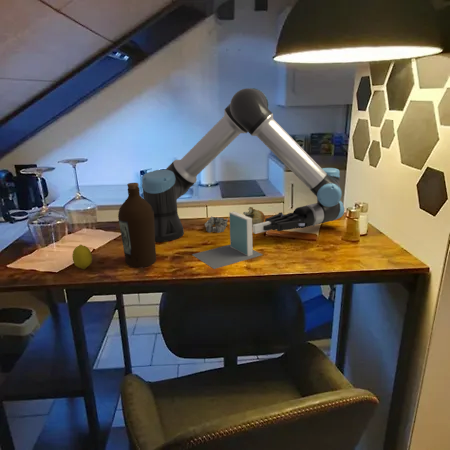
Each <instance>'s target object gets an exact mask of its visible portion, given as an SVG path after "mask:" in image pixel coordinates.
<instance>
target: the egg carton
mask: <svg viewBox="0 0 450 450" xmlns="http://www.w3.org/2000/svg"><path fill="white" fill-rule="evenodd" d="M228 221H229V218H224V217H217V216H216V217H215V216H210V218H209V219H208V220H207V221H206V222H204V226H205V232H206V231H207V233H209V234H212V233H217V234H218V233H219V234H220V233H224V232H225V230H226V228H227V227H228ZM226 226H227V227H226ZM211 232H212V233H211Z"/></svg>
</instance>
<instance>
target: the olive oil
mask: <svg viewBox="0 0 450 450" xmlns="http://www.w3.org/2000/svg"><path fill="white" fill-rule="evenodd" d="M127 194H128V197H127V198H126V199H125V201H123V203H122V204H121V205H120V208H119V209H118V213H117V215H118V216H117V217H118V224H119V230H120V234H121V240H122V241H121V243H122V245H123V247H122V248H123V253H124V259H125V264H126V265H127V266H128V267H131V268H145V267H148V266H151V265H153V264H155V263H156V261H157V255H156V254H157V250H156V242H155V228H154V212H153V209H152V207H151V205H150V204H149V203H148V202H147V201H145V200H144V197H142V196H141V194H140V187H139V182H129V183H127Z"/></svg>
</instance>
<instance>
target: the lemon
mask: <svg viewBox="0 0 450 450" xmlns="http://www.w3.org/2000/svg"><path fill="white" fill-rule="evenodd" d="M71 257H72V262H73V265H74V266H75V267H77V268H79V269H82V270H86V269H87V268H88V267H89V266H91V264H92V262H93V254H92V252H91V250H90V248H89V247H88V246H86V245H83V244H79V245H78V246H76V247H75V248H74V250H73V251H72V256H71Z"/></svg>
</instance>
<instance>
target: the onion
mask: <svg viewBox="0 0 450 450" xmlns="http://www.w3.org/2000/svg"><path fill="white" fill-rule="evenodd" d="M242 215H244V216H247V217H250V218H252V228H253V225H254V224H258V223H262V222H265V219H266V218H265V217H266V216H265V214H264V213H263V211H261V210H259V209H254V207H251V206H250V207H248V211H244V212H243V213H242Z"/></svg>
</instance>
